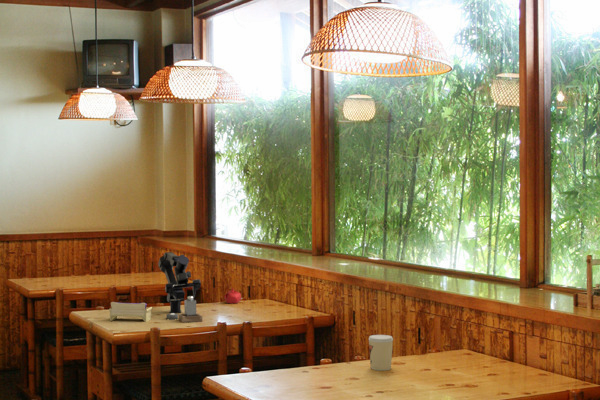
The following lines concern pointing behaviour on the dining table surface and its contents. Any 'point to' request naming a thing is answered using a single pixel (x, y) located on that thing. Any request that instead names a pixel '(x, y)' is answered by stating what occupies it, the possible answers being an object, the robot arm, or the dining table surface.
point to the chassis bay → (190, 318)
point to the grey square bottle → (190, 306)
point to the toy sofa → (130, 310)
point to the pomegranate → (232, 297)
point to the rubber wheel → (171, 316)
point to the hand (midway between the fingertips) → (185, 299)
